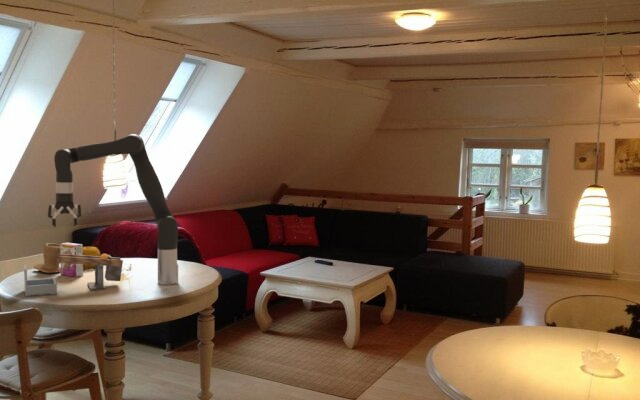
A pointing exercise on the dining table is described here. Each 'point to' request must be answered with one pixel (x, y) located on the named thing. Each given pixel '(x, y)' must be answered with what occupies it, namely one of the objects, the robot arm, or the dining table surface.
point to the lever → (111, 264)
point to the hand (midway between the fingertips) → (64, 226)
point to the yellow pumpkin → (90, 254)
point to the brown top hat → (50, 259)
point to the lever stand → (97, 279)
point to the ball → (104, 256)
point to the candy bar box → (71, 269)
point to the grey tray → (39, 285)
